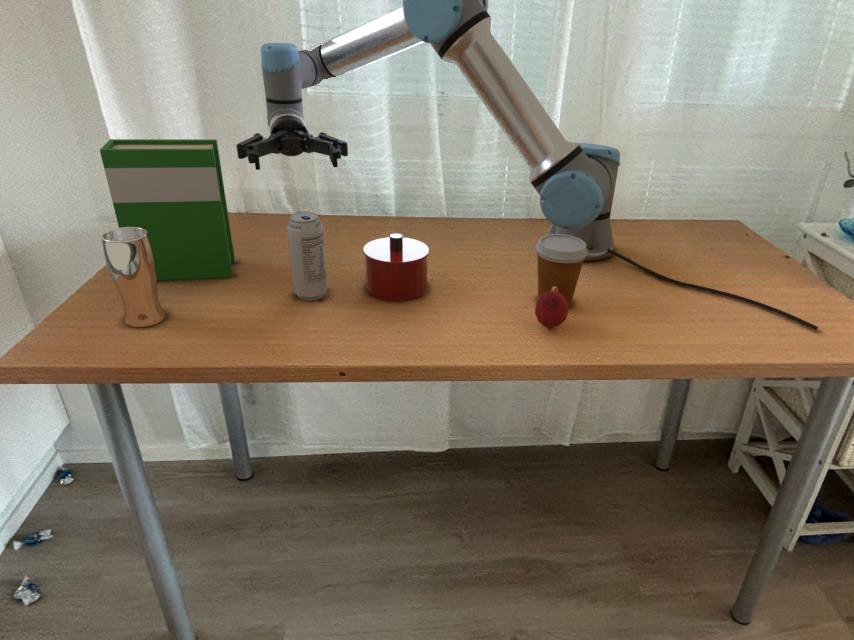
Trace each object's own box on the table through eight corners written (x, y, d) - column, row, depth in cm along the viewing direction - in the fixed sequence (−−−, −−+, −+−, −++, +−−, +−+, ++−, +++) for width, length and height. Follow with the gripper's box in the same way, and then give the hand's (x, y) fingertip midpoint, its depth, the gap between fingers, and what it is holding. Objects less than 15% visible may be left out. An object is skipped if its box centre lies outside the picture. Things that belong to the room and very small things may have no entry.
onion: (564, 338, 111) (570, 297, 106) (530, 333, 112) (535, 292, 107) (567, 323, 116) (572, 282, 111) (535, 318, 116) (540, 278, 112)
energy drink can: (316, 284, 123) (309, 208, 115) (334, 295, 119) (328, 218, 112) (288, 293, 119) (279, 215, 111) (305, 305, 116) (297, 225, 108)
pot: (419, 273, 130) (419, 238, 126) (432, 298, 121) (433, 261, 117) (362, 277, 127) (361, 242, 123) (372, 303, 118) (370, 265, 114)
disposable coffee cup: (546, 317, 117) (554, 255, 111) (520, 295, 124) (526, 236, 118) (589, 308, 121) (599, 248, 115) (561, 288, 128) (569, 230, 122)
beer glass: (139, 333, 104) (116, 245, 96) (113, 320, 107) (89, 234, 99) (176, 317, 109) (158, 233, 102) (151, 305, 112) (131, 223, 104)
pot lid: (420, 240, 127) (421, 222, 125) (436, 265, 117) (436, 246, 115) (358, 244, 123) (357, 225, 122) (369, 270, 114) (368, 250, 112)
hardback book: (235, 261, 130) (216, 139, 117) (232, 277, 124) (212, 149, 111) (139, 265, 126) (109, 139, 113) (132, 281, 120) (99, 150, 107)
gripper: (351, 150, 138) (367, 179, 121) (227, 153, 131) (226, 184, 114) (349, 114, 134) (365, 138, 117) (221, 115, 127) (219, 141, 110)
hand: (296, 161), depth 116 cm, fingers open, 13 cm apart
